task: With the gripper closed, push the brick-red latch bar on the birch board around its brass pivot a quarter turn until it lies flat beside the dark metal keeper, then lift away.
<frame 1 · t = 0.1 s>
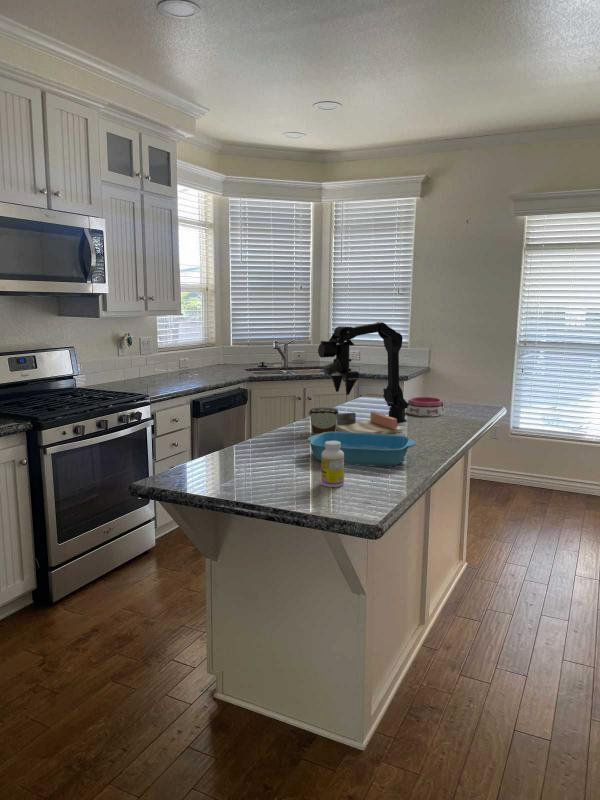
hand: (342, 393, 251), 15 cm above the countertop, tool pointing down, fingers open, 9 cm apart
latch bar: (382, 419, 249), point 4 cm above the countertop, hinge at 90.0°
supplement bottle: (332, 485, 175), on the countertop
casserole dish: (360, 459, 204), on the countertop
latch board: (366, 430, 248), on the countertop
food container: (324, 432, 244), on the countertop
dog bowl: (425, 413, 285), on the countertop
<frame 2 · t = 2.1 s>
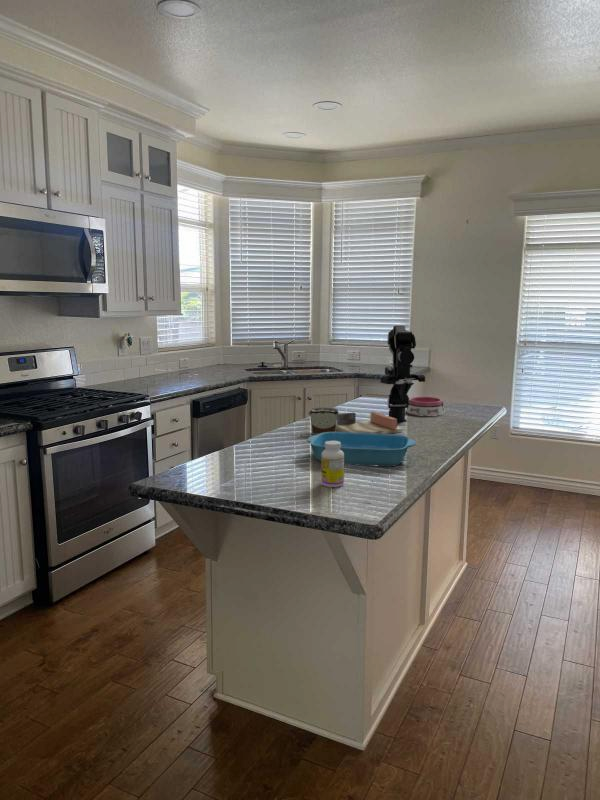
hand: (402, 399, 246), 13 cm above the countertop, tool pointing down, fingers closed
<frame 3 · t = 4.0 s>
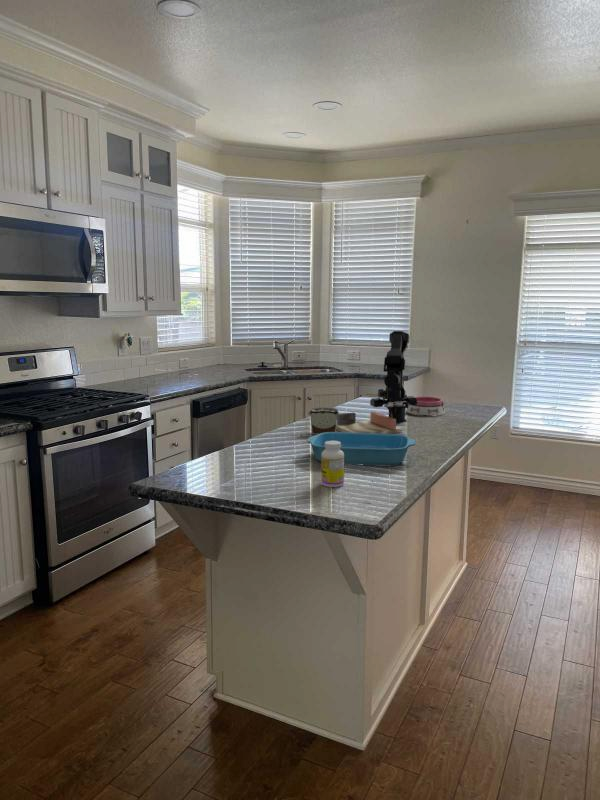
hand: (393, 422, 245), 4 cm above the countertop, tool pointing down, fingers closed
latch bar: (382, 420, 249), point 4 cm above the countertop, hinge at 88.2°, touching gripper
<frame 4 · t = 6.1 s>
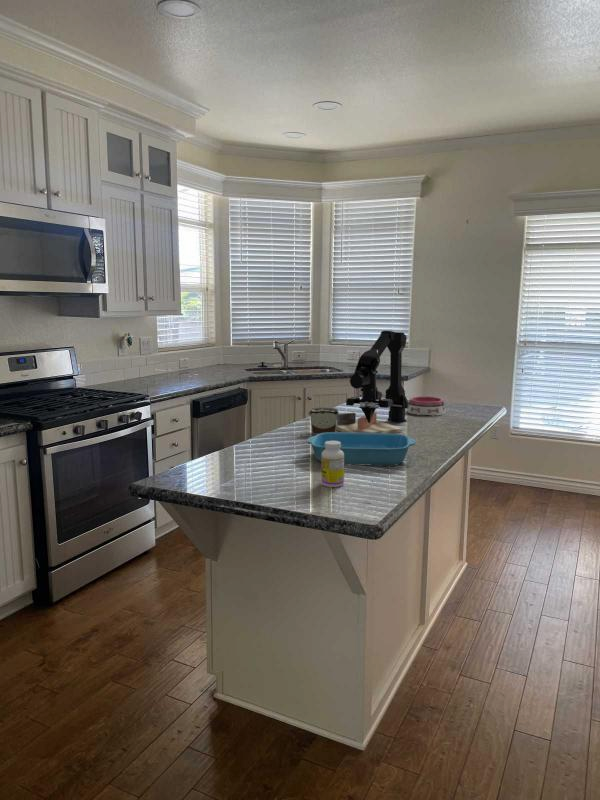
hand: (369, 422, 244), 4 cm above the countertop, tool pointing down, fingers closed
latch bar: (367, 419, 249), point 4 cm above the countertop, hinge at 38.5°, touching gripper
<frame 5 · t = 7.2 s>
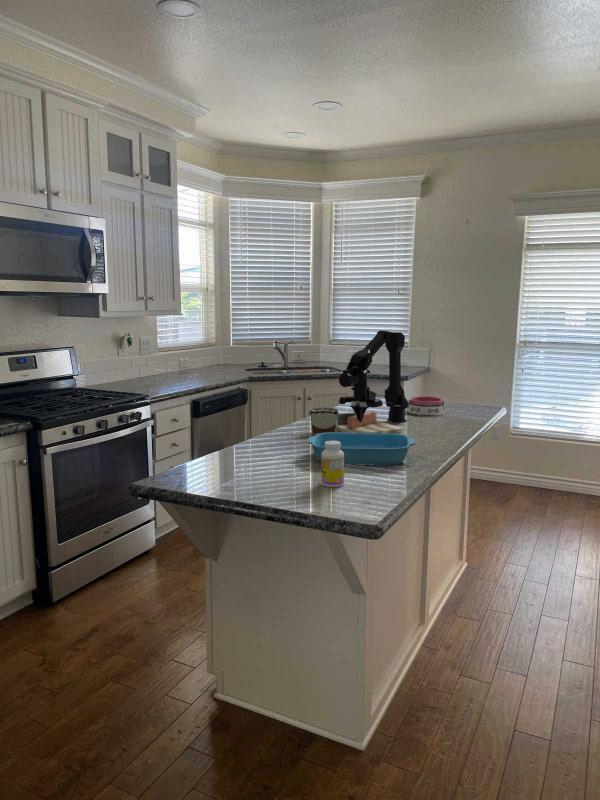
hand: (360, 422, 245), 4 cm above the countertop, tool pointing down, fingers closed
latch bar: (362, 419, 250), point 4 cm above the countertop, hinge at 20.3°, touching gripper
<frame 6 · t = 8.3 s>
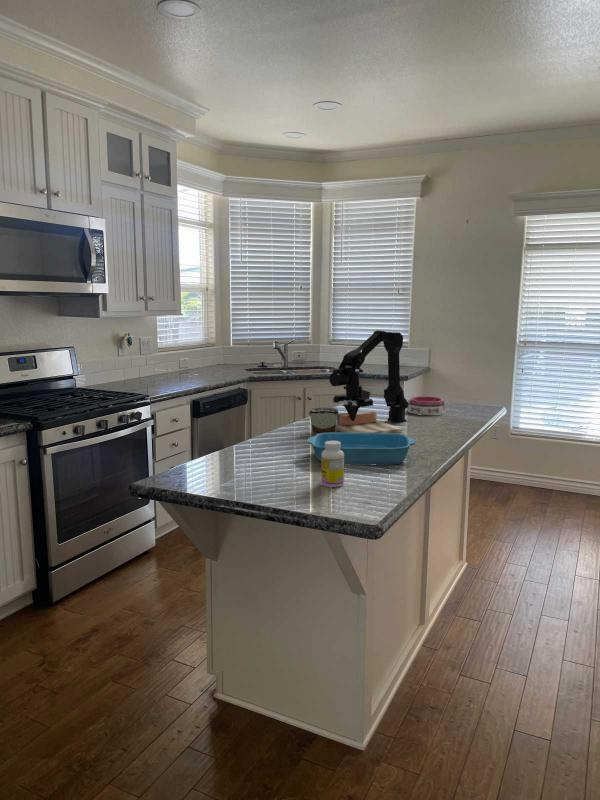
hand: (353, 420, 248), 4 cm above the countertop, tool pointing down, fingers closed
latch bar: (358, 418, 252), point 4 cm above the countertop, hinge at -0.4°, touching gripper
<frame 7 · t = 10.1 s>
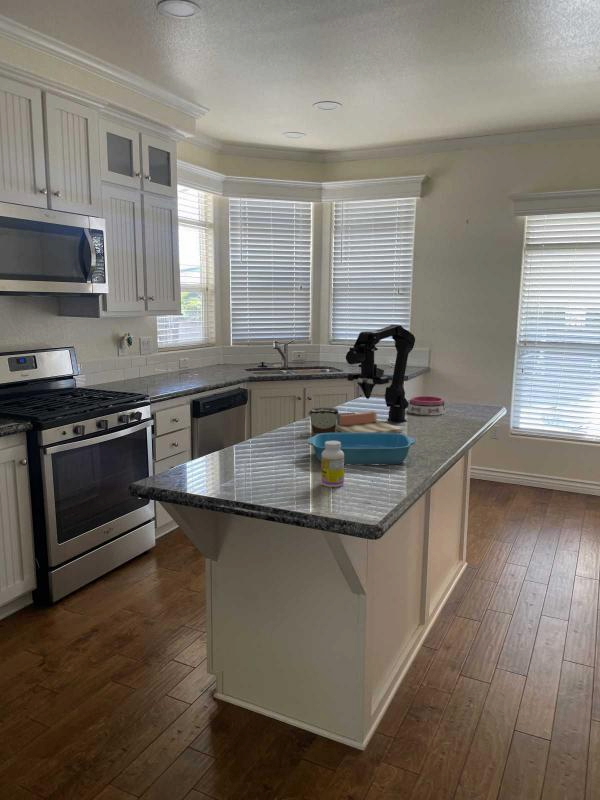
hand: (367, 398, 251), 12 cm above the countertop, tool pointing down, fingers closed
latch bar: (358, 418, 252), point 4 cm above the countertop, hinge at -0.4°
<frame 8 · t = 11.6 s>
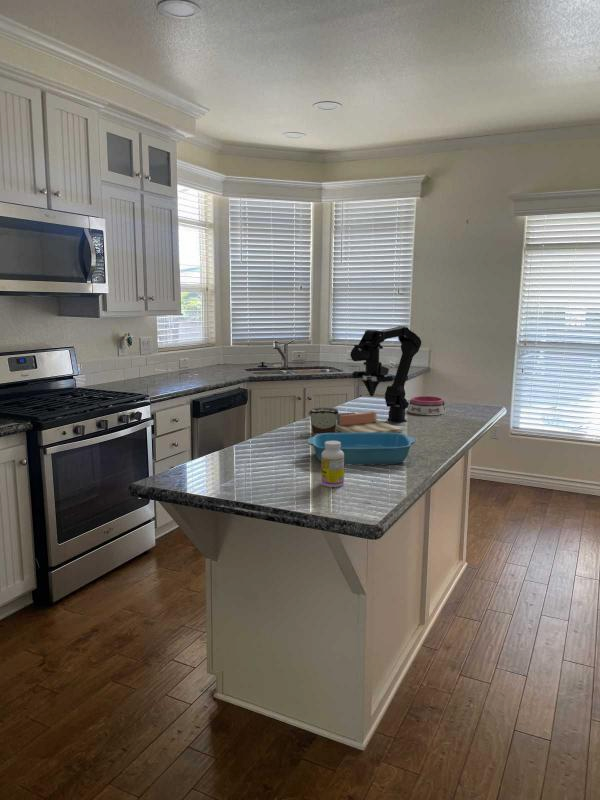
hand: (371, 396, 253), 13 cm above the countertop, tool pointing down, fingers closed
at the end: latch bar at +0° (first picture: +90°); food container moved 0.2 cm from its start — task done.
